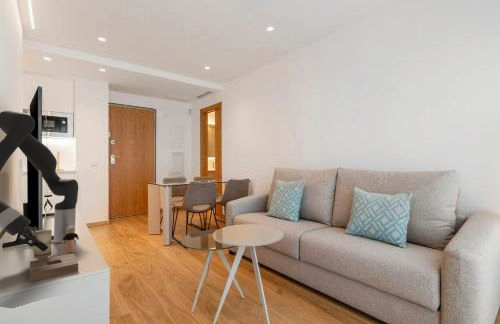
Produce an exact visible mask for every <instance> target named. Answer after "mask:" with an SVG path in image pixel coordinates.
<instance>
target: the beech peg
mask: <svg viewBox="0 0 500 324" xmlns="http://www.w3.org/2000/svg"><path fill="white" fill-rule="evenodd" d="M34 233H35V234H36V235H37V238H38V239H39V240H40V241H41V242H43V243H44V244H46V245H47V246H48V248H47V249H46V250H45V251H42V250H40V249H39V248H38V247H36V246H33V259H36V260H40V259H46V258H49V257H50V256H52V244H51V242H52V233H53V232H52V229H50V228H49V229H47V228H45V229H39V230H38V231H35V232H34Z"/></svg>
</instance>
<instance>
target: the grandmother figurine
mask: <svg viewBox="0 0 500 324" xmlns="http://www.w3.org/2000/svg"><path fill="white" fill-rule="evenodd" d="M66 230H67V231H68V234H66V236H65V237H64V238H63V240H62V242H61V243H60V244H61V245H63V244H64V243H65V246H64V253H63V255H68V254H73V253H74V254H75V253H76V251H75V240H77V241H78V240H80V237H79V235H78V233H76V232H75V233H73V232H74V230H75V231H76V226H75V227H74V226H69V227H67V229H66ZM74 238H75V239H74ZM65 240H66V242H64V241H65Z"/></svg>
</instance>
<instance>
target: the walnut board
mask: <svg viewBox="0 0 500 324" xmlns="http://www.w3.org/2000/svg"><path fill="white" fill-rule="evenodd" d="M75 272H79V261H78V259H77V257H76V255H75V253H70V254H68V255H64V254H63V255H58V256H53V257H48V258H46V259H40V260H37V259H36V260H30V261H29V283H31V282H35V281H39V280H44V279H49V278H54V277H57V276H62V275H67V274H71V273H75Z"/></svg>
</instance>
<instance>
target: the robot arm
mask: <svg viewBox="0 0 500 324" xmlns="http://www.w3.org/2000/svg"><path fill="white" fill-rule="evenodd" d="M35 126H36V121H35V119H34V117H33V116H32V115H30V114H28V113H24V112H20V111H14V110H3V111H1V112H0V129H1V131H3V133H4V134H5V136H4V138H3V139H2V140H0V172H1V171H2V170H3V168H4V166H5V164H6V163H7V162H8V160H9V158H11V156H12V155H13V154H14V152H16V150H17V149H20V151H21V152H22V154H24V156H25V157H26V159H27V160H28V161H29V163H30V164H31V165H32V166H33V167H34V168H35V170H36V171H37V172H38V170H40V171H41V173H42V176H41V178H42V179H43V180H44V182H45V183H46V185H47V187H48V189H49V190H50V191H51V193H52V194H53V195H55V196H58V197H64V198H63V200H62V201H60V202H57V203H55V204H54V220H53V221H54V222H53V223H54V224H53V241H51V245H52V244H53V242H54V243H55V244H58V243H59V244H61V242H62V240H63V238H64V237H65V236H66V234H68V231H67V230H66V229H67V227H69V226H74V227H75V228H76V217H77V216H76V214H77V213H76V208H77V204H78V197H79V183H78V181H77V179H74V178H62V177H60V176H59V175H58V174H57V172H56V171H57V170H56V169H57V166H58V161H57V158H56V157H55V155H54V154H53V153H52V151H51V149H49V148H48V146H46V145H45V144H43V143H42V142H41V141H39V140H38V139H37V138H35V136H33V135H32V134H31V133H32V132H33V130H34V129H35ZM31 222H32V221H31V220H30V219H29V218H28V217H26V216H25V215H23V214H22V213H20V212H19V211H18V210H16V209H15V208H13V207H11V206H9V205H8V204H7V203H5V202H4V201H2V200H0V229H2V230H3V231H5V232H6V233H8V234H9V235H10V236H16V235H17V234H18V235H19V236H18V237H17V239H18V240H19V241H20V242H22V243H24V244H26V245H27V246H30V247H34V246H36V247H38V248H39V249H40V250H42V251H45V250H46V249H47V248H48V246H47V245H46V244H44V243H43V242H41V241H40V240H39V239H38V238H37V235H36V234H35V233H34V232H35V231H38V230H40V228H38V226H35V225H34V226H33V227H32V226H30V225H29V224H31ZM73 233H76V229H75V230H74V232H73ZM74 240H76V238H74ZM64 243H66V240H65V241H64Z"/></svg>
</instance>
